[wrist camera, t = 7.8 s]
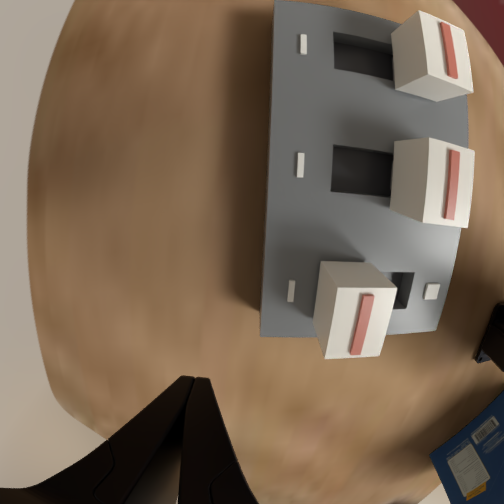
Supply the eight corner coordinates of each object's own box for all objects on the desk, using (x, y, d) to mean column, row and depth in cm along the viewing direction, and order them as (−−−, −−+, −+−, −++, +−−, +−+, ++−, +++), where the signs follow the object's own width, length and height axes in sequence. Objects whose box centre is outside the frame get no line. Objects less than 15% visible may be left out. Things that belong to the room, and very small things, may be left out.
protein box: (519, 401, 24) (562, 459, 10) (447, 465, 28) (476, 531, 13) (512, 379, 23) (569, 449, 8) (426, 455, 26) (461, 537, 11)
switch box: (437, 58, 14) (466, 46, 10) (416, 311, 19) (439, 335, 16) (271, 22, 14) (275, -6, 10) (259, 312, 19) (260, 342, 16)
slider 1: (361, 254, 16) (399, 289, 11) (352, 310, 17) (380, 358, 12) (315, 252, 16) (339, 289, 11) (308, 310, 17) (325, 361, 12)
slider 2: (420, 54, 12) (465, 29, 7) (424, 105, 13) (476, 91, 8) (381, 41, 12) (420, 8, 7) (384, 94, 13) (430, 73, 8)
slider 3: (423, 150, 14) (477, 150, 9) (418, 210, 15) (470, 228, 10) (383, 142, 14) (431, 137, 9) (379, 205, 15) (425, 223, 10)
